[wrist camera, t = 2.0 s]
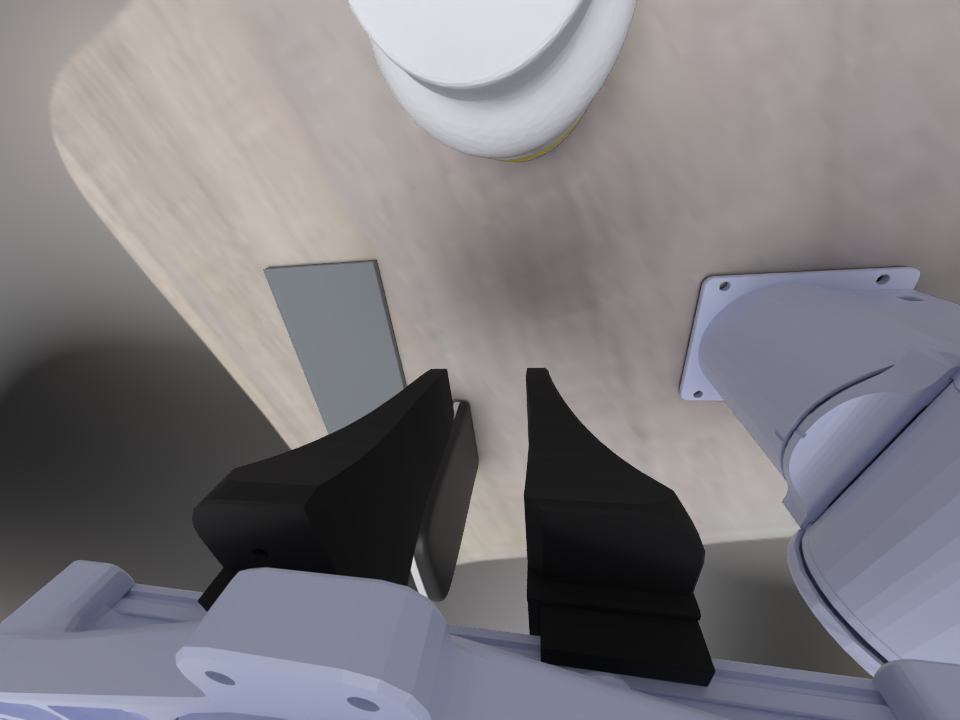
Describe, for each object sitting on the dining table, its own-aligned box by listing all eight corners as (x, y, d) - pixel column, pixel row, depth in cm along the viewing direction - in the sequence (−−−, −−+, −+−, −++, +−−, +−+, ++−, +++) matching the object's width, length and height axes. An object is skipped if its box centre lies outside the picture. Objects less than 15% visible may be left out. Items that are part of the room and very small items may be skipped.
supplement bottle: (460, -28, 15) (187, -662, 3) (615, -8, 14) (870, -680, 3) (446, 152, 18) (283, 121, 7) (570, 173, 17) (611, 176, 6)
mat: (376, 260, 21) (372, 261, 21) (429, 482, 31) (427, 487, 30) (268, 267, 23) (262, 269, 23) (350, 477, 32) (347, 481, 32)
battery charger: (421, 397, 26) (346, 533, 16) (469, 397, 25) (420, 539, 16) (437, 463, 29) (382, 610, 20) (480, 465, 29) (445, 618, 19)
